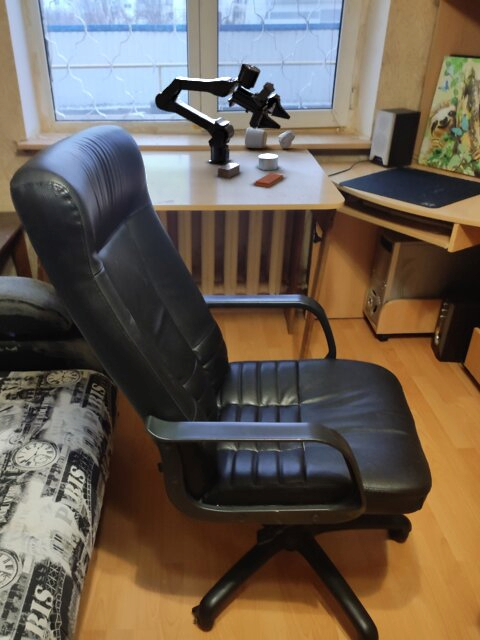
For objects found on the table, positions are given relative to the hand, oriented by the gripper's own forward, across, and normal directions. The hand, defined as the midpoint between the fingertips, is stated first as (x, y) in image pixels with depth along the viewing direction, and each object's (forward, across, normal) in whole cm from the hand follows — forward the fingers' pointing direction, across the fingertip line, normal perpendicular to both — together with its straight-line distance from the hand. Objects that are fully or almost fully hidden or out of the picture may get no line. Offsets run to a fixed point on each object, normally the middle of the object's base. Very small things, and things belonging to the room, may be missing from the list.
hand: (285, 122), depth 195 cm
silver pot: (+2, -4, +16) cm, 17 cm away
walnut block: (-8, -18, +18) cm, 27 cm away
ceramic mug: (-11, +21, +26) cm, 36 cm away
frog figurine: (0, +24, +22) cm, 33 cm away
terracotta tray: (+7, -19, +11) cm, 23 cm away
